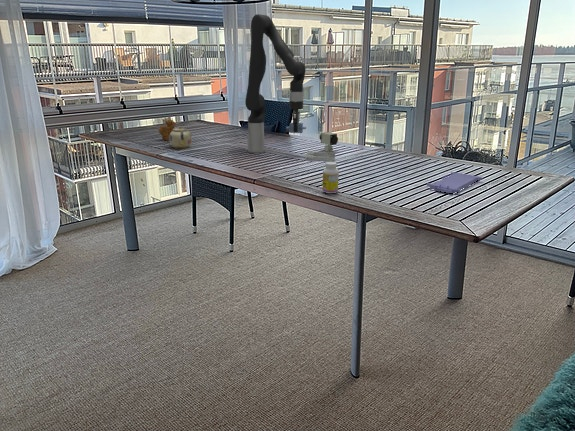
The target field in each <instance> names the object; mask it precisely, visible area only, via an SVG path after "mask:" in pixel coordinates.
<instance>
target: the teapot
mask: <svg viewBox="0 0 575 431" xmlns="http://www.w3.org/2000/svg"><path fill="white" fill-rule="evenodd" d="M177 126H178V127H176V128H175V127H174V128H175V129H173V131H172V132H171V133H170V136H169V140H170V141H169V143H170V145H171V146H172V147H173V149H176V150H185V149H188V148H189V147H190V146H191V144H192V141H193V138H192V136H193V135H192V133H191V132H190V131H189V130H188V128H186V127H185V128H184V127H182V125H177Z"/></svg>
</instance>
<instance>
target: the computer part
mask: <svg viewBox="0 0 575 431" xmlns="http://www.w3.org/2000/svg"><path fill="white" fill-rule="evenodd" d="M477 180H478V181H483V177H482V176H478V175H473V174H468V173H467V174H466V173H462V172H461V173H460V172H454V171H453V172H452V171H451V172H450V175H448V173H447V174H445V175H443V176H442V177H441V180H437V181H435V182H433V183H431V182H427V183H426V187H429V190H430V189H434V190H436V191H435V192H439V191H441V192H440V193H444V192H446V193H445V194H449V193H455V192H458V193H461V191H462V190H461V189H463V188H465V187H467V186H469V185H470V184H472V183H474V182H476V181H477ZM476 183H477V182H476ZM474 184H475V183H474ZM472 185H473V184H472ZM469 187H470V186H469ZM467 188H468V187H467ZM465 189H466V188H465ZM460 190H461V191H460ZM463 190H464V189H463Z"/></svg>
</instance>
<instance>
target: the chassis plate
mask: <svg viewBox="0 0 575 431" xmlns="http://www.w3.org/2000/svg"><path fill="white" fill-rule="evenodd" d="M335 160H336V151H332V152H326V151H313V150H311V151H310V150H309V151H308V150H307V152H306V155H305V156H304V161H307V162H308V161H309V162H310V161H312V162H313V161H314V162H335Z"/></svg>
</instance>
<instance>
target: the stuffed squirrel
mask: <svg viewBox="0 0 575 431" xmlns="http://www.w3.org/2000/svg"><path fill="white" fill-rule="evenodd" d="M164 123H165V124H166V125H163V126H160V127H159V128H158V129H157V130H158V133H159V134H160V135H161V136H162V140H164V141H165V142H170V140H169V136H170V133H171V132H172V131H173V129H175V126H178V124H177V123H176V122H175V121H174V120H173V119H169V120H164Z"/></svg>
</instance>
